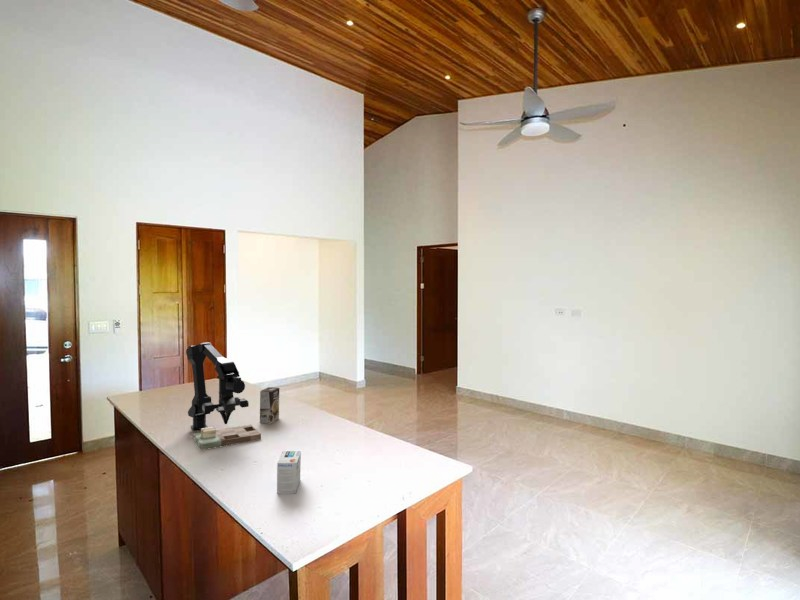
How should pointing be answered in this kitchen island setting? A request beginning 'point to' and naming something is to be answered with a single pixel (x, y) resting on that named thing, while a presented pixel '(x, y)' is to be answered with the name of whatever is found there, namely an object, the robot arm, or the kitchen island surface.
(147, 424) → the kitchen island surface
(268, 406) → the coffee box
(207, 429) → the block
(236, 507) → the kitchen island surface
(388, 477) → the kitchen island surface
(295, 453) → the light bulb box
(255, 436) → the board
